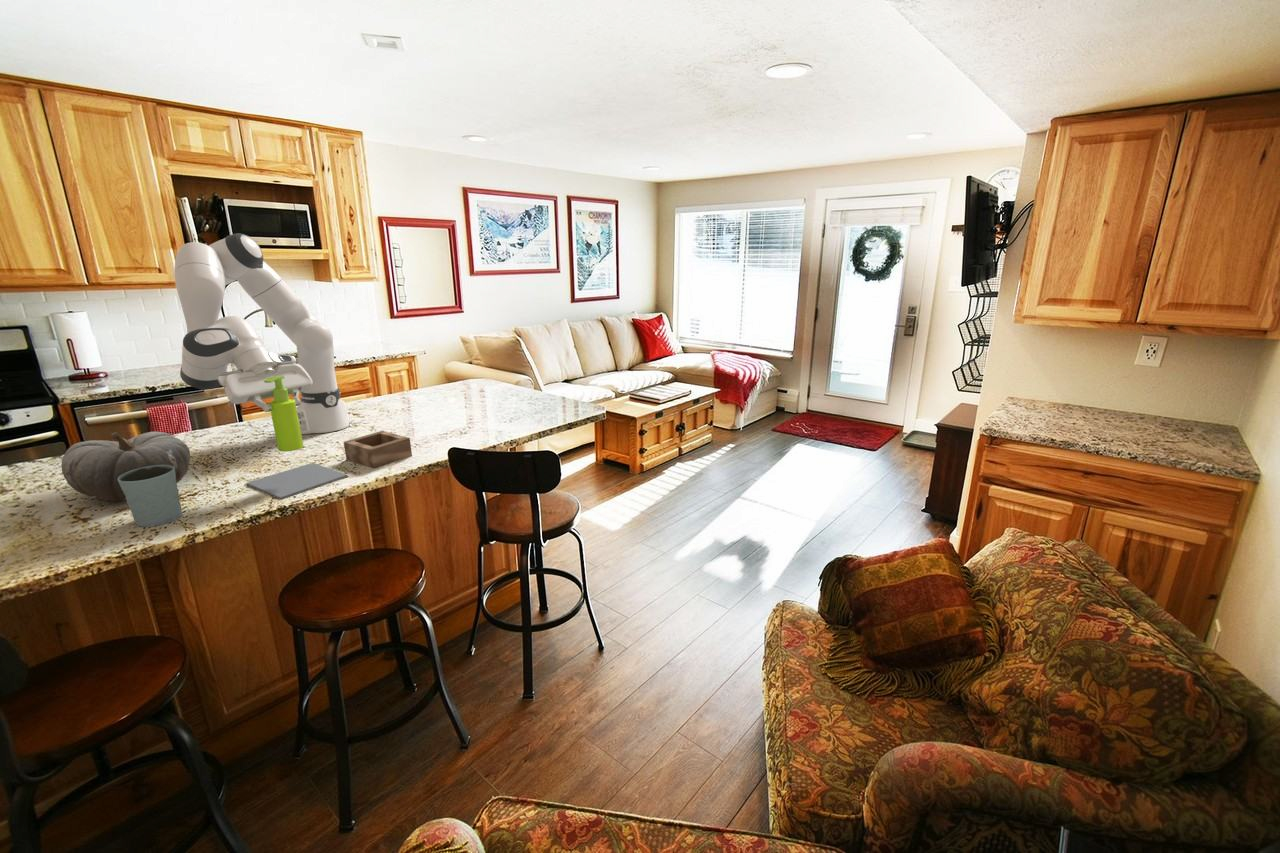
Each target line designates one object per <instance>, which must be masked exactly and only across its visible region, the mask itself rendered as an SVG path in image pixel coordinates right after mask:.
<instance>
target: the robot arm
mask: <svg viewBox="0 0 1280 853" xmlns="http://www.w3.org/2000/svg"><path fill="white" fill-rule="evenodd" d="M174 260H175V262H174V282H175V288H176V290H177V295H178V298H179V302H180V305H181V309H182V312H183V316H184V320H185V325H186V332H187V333H186V334H185V335H184V337H183V339H182V346H181V349H182V351H181V367H180V373H179V376H180V378H181V381H183V383H185V384H186V385H188V386H189V387H193V388H194V389H199V390H213V389H216V388H219V387H221V386H222V387H223V388H224V389H223V390H224V392H225V394H226V397H227V399H228V401H229V402H230V403H231V404H233V405H240V404H244V403H245V404H246V403H251V402H253V404H254V405H256V406H257V407H260V408H261V409H262V410H263V412H264V413H271V411H272V409H273V408H272V406H271V404H270V402H265V401H263V400H267V399H271V398H273V399H274V397H273V392H272V390H273V389H274V388H276V387H275V382H274V381H273V382H272V383H265V382H264V381H265V380H266V379H268V378H270V377H274V376H284V377H285V378H283V379H282V384H283V387H285V388H287V390H288V395H291V397H293V398H292V399H293V400H295V403H296V409H297V414H298V419H299V425H300V430H301V435H308V434H323V433H332V432H335V431H340V430H343V429H346V428H347V427H349V426H350V423H352V422H353V419H352V418H350V417H349V414H348V410H347V406H346V402H345V401H344V400H343V399H341V391H340V388H339V387H338V382H337V375H336V368H335V352H334V341H333V340H334V338H333V337H334V336H333V334H332V332H331V330H330V328H329V327H328V326H327V325H326V324H324V323H322V322H320V321H318V319H316V317H315V316H314V314H312V312H311V311H310V310H309V309H308V308H307V306H306V304H304V302H303V301H302V300H301V299H300V297H299V296H298V295H297V294H296V293H295V291H294V290H293V289H292V288H291V287H290V286H289V285H288V284H287V283H286V282H285V281H284V280H283V278H282V277H281V276H280V275H279V274H278V273H277V272H276V271H275V270H274V269H273V268H272V267H271V266H270V265H269V264H268V263H267V262H265V261H264V260H265V259H264V253H263V250H262V248H261V247H260V245H259V244H258V243H257V242H256V240H254V239H253V238H251V237H250V236H249V235H246V234H243V233H241V232H240V233H238V232H237V233H232V234H230V235H227V236H226V237H224V238H223V239H219V240H217V241H214V242H213V243H210V244H209V245H208V244H205V243H202V242H198V241H197V242H196V241H192V242H187V243H185V244H183V245H181V246H180V247H179V248H178V250H177V252H176V257H175V259H174ZM236 281H237V282H238V283H239V285H240V287H241V288H242V289H243V290H244V292H245V293H247V295H248V296H249V297H250V298H251V299H252V300H253V301H254V302H255V303H256V305H258V307H260V309H262V311H263V312H264V313H265V314H266V315H267V316H268V317H269V318H270V319H271V320H272V321H273V322H274V323H275V324H276V326H277V327H278V328H279V329H280V330H281V331H282V332H283V333H284V335H285V336H287V338H288V339H289V340H290V341H291V342H292V343H293V344H294V345H295V346H296V351H297V358H296V357H295V356H293V355H289V354H280V353H275V352H271V351H270V350H269V349H268V348H267V347H266V346H265V344H264V341H263V339H262V337H261V336H260V334H259V333H258V331H257V330H256V328H254V326H253V325H252V323H250V322H249V321H247V320H246V319H245V318H244V317H241V316H236V315H228V316H224V317H220V318H219V316H220V313H221V309H222V306H223V301H224V297H225V291H226V286H227V285H229V284H231V283H234V282H236ZM297 362H298V363H297ZM229 364H233V365H235V366H234V367H236V369H237V370H232V371H231V370H230V371H228V365H229ZM299 396H300V397H299Z"/></svg>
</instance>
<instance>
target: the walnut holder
mask: <svg viewBox="0 0 1280 853" xmlns="http://www.w3.org/2000/svg"><path fill="white" fill-rule="evenodd" d="M411 446H412V444H411V438H410V437H407V436H404V435H401V434H397V433H396V434H395V433H393V432H388V431H384V430H380V431H377V432H373V433H369V434H367V435H366V434H365V435H363V436H359V437H355V438H352V439H348V440H345V441H343V447H344V454H345V459H346V461H348V462H351V463H353V464H356V465H359V466H364V467H367V468H370V469H372V470H375V469H379V468H382V467H384V466H386V465H387V466H388V465H390V464H393V463H397V462H399V461H402V460H405V459H407V458H411V457H412V456H413V454H412V452H413V451H412V447H411Z"/></svg>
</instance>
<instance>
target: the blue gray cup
mask: <svg viewBox="0 0 1280 853" xmlns="http://www.w3.org/2000/svg"><path fill="white" fill-rule="evenodd" d="M118 482H119V484H120V486H121V489H122V490H123V492H124V495H125V496H126V499H125V500H126V503H127V505H128V507H129V510H130V513H131V515H132V518H133V520H134V522H135V524H136V525H137V526H138V527H140V528H141V527H142V528H151V527H157V526H163V525H165V524H168V523H172V522H173V521H176V520H178V519H180V518H181V517H182V516H183V509H182V505H181V501H180V495H179V488H178V483H176V475H175V468H174V467H173V466H171V465H154V466H147V467H142V468H138V469H134V470H131V471H128V472H126V473H124V474H122V475H120V476H119V477H118Z"/></svg>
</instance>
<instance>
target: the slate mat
mask: <svg viewBox="0 0 1280 853" xmlns="http://www.w3.org/2000/svg"><path fill="white" fill-rule="evenodd" d="M345 478H348V474H346V473H343V472H340V471H337V470H335V469H332V468H329V467H326V466H323V465H320V464H318V463H314V462H311V463H308V464H304V465H301V466H298V467H295V468H291V469H287V470H284V471H282V472H278V473H275V474H271V475H268V476H264V477H262V478H258V479H255V480H251V481H248V482H246V485H247V486H248V487H251V488H254V489H255V488H256V489H255V490H258V491H260V492H263V493H265V494H267V495H269V494H270V496H271V497H275V498H276V499H279V500H284V499H286V498H289V497H293V496H295V495H299V494H300V493H304V492H307V491H310V490H313V489H316V488H318V487H321V486H325V485H327V484H331V483H333V482H336V481H339V480H342V479H345Z"/></svg>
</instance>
